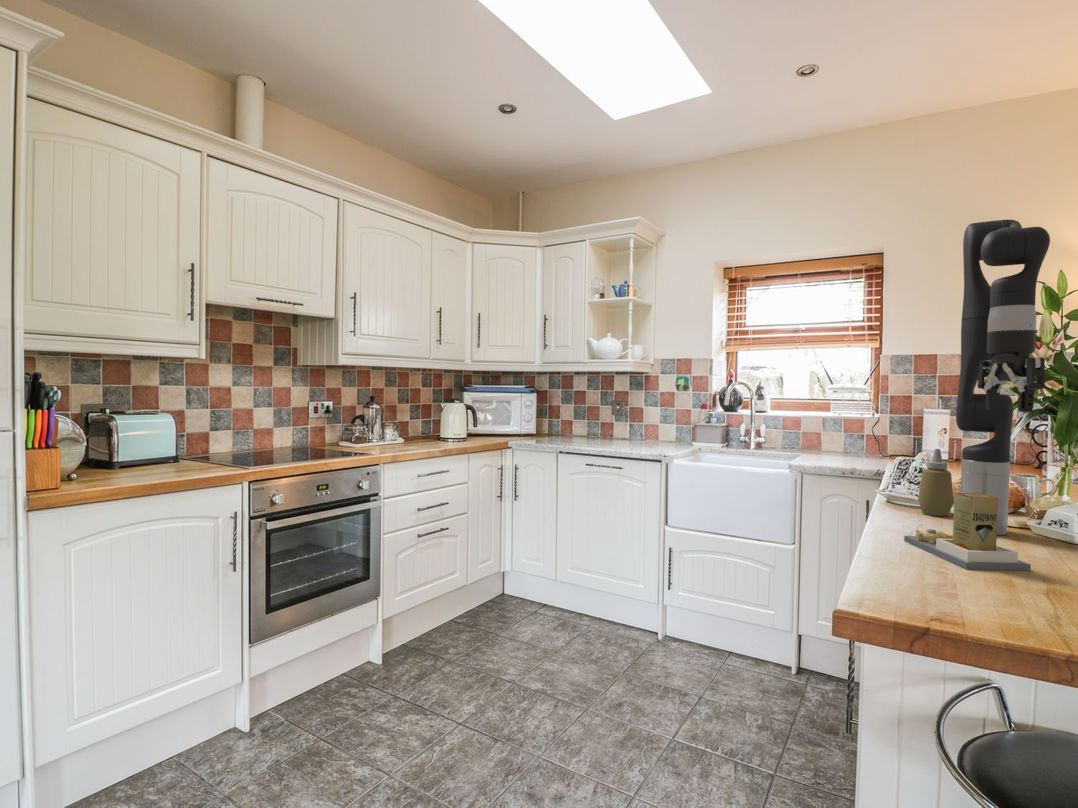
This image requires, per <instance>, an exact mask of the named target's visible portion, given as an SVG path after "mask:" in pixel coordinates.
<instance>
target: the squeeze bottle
mask: <svg viewBox="0 0 1078 808" xmlns="http://www.w3.org/2000/svg"><path fill="white" fill-rule="evenodd" d="M947 469H948V463H947V462H944V461H943V457H942V452H941V448H935V449H934V450H933V454H932V458H931V460H930V461H926V468H925V469H924V470H922V472H921V477H920V483H919V490H918V498H917V501H918V504H919V507H920V510H921V513H922V514H925V515H928V516H931V517H948V516H949V515H950V512H951V509H952V508H953V507H954V492H953V491H954V490H953V480H952V473H951V471H949V470H947Z"/></svg>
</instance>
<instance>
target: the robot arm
mask: <svg viewBox="0 0 1078 808" xmlns="http://www.w3.org/2000/svg"><path fill="white" fill-rule="evenodd" d="M962 241H963V242H962V243H963V247H962V248H963V249H962V250H963V251H962V252H963V253H962V254H963V297H962V298H963V301H962V313H961V325H960V326H961V327H960V328H961V329H960V369H959V379H958V381H959V382H958V390H957V396H956V397H957V399H956V410H955V422H956V425H957V428H958V429H959V430H960V431H963V432H972V433H973V432H975V433H977V432H978V433H979V432H981V433H993V434H994V435H993V437H992V438H990V439H988V440H986V441H983V442H981V443H978V444H977V443H976V444H973V445H968V446H964V447H963V448H962V451H961V475H960V476H961V478H960V480H961V481H960V487H959V488H958V493H980V494H984V495H988V496H992V497H996V498H998V510H997V536H1005V535H1008V523H1009V521H1008V520H1009V496H1010V495H1009V494H1010V470H1011V469H1010V466H1011V438H1012V437H1011V436H1012V426H1013V417H1014V402H1013V399H1012V397H1011V396H1010V395H1007V394H1005V393H1003V394H1001V392H1000V390H1001V389H1002V387H1003V385H1005V384H1007V382H1009V381H1010V382H1011V383H1012V384H1014V385H1015V386H1016V387H1017V389H1018V391H1019V392H1018V404H1017V410H1018V412H1020V413H1031V412H1033V409H1034V406H1035V405H1034V402H1035V401H1034V400H1035V393H1036V392H1037V391H1038V390H1043V389H1045V387H1046V380H1045V379H1046V373H1045V372H1046V370H1045V369H1046V367H1045V365H1046V364H1045V363H1046V361H1045V358H1044V357H1030V354H1033V353H1034V352H1035V351H1036V337H1037V311H1036V296H1037V295H1036V291H1037V282H1038V277H1039V274H1040V270H1041V267H1042V265H1043V262H1044V260H1045V258H1046V255H1047V253H1048V250H1049V248H1050V243H1051V237H1050V234H1049V232H1048V231H1047V230H1046V229H1045V228H1044V227H1041V226H1030V227H1029V226H1028V227H1022V224H1021V223H1020V222H1019V221H1018V220H1014V219H1001V220H1000V219H998V220H990V221H989V220H988V221H979V222H972V223H970V224H968V225H967V227H965V230H964V234H963V239H962ZM980 261H982V262H983V263H984V264H985V265H986V266H988V267H1004V266H1016V265H1024V267H1023V268H1022V270H1021V271H1020V272H1018V273H1015V274H1012V275H1007V276H1003V277H1000V278H999V277H998V278H997V279H994V280H993V281H992V283H991V285H990V284H989V282H988V280H987V278H985V275H984V273H983V270H982V267H981V262H980ZM1035 377H1036V382H1035ZM985 378H986V382H985ZM976 385H977V388H978V389H979V390H980V389H981V390H983V391H984V392H985V393H974V391H975V387H976Z"/></svg>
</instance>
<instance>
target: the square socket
mask: <svg viewBox="0 0 1078 808" xmlns="http://www.w3.org/2000/svg"><path fill="white" fill-rule="evenodd" d="M936 548H937V549H939V550H942V551H944V552H946V553H949V554H951V555H953V556H955V557H958V558H960V559H962V560H965V561H967V562H1004V563H1018V560H1019V552H1017V551H1015V550H1012V549H1010V548H1007V547H1004V546H1002V545H998V544H996V551H972V550H967V549H964V548H962V547H959V546H957V545H954V544H953V539H937V538H936Z"/></svg>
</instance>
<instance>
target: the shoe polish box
mask: <svg viewBox="0 0 1078 808" xmlns="http://www.w3.org/2000/svg"><path fill="white" fill-rule="evenodd" d="M953 500H954V504H953V521H952V522H953V523H952V530H953V544H954V545H957V546H959V547H962V548H964V549H967V550H972V551H996V545H997V536H998V535H997V510H998V498H996V497H992V496H988V495H984V494H980V493H959V492H953Z"/></svg>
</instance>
